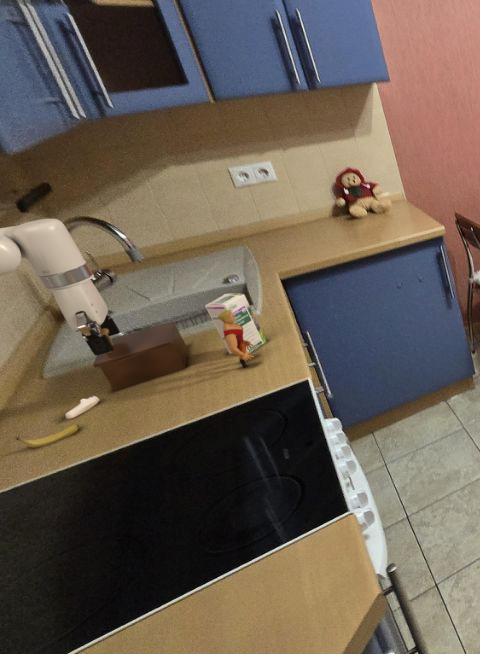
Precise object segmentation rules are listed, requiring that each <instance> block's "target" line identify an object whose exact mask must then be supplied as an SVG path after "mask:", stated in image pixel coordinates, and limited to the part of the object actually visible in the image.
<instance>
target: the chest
mask: <svg viewBox="0 0 480 654" xmlns="http://www.w3.org/2000/svg"><path fill="white" fill-rule="evenodd" d="M188 350H189V348H188V346H187V344H186V343H185V341H184V338H183V337H182V335H181V333H180V331H179V329H178V327H177V325H176V324H175V326H174V332H173V338H172V344H171V345H168V346H165V347H162V348H158V349H155V350H152V351H148V352H145V353H142V354H139V355H135V356H132V357H129V358H125V359H122V360H119V361H115V362H112V363H109V364H106V365H102V366H99V367H100V369H101V371H102V372H103V374H104V375H105V377H106V379H107V381H108V382H109V384H110V386H111V387H112V389H113V390H114V392H118V391H121V390H124V389H126V388H130V387H133V386H136V385H140V384H142V383H145V382H148V381H151V380H154V379H158V378H161V377H164V376H167V375H170V374H173V373H176V372H180V371H183V370H186V368H187V362H188V352H189V351H188Z"/></svg>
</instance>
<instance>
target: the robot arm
mask: <svg viewBox="0 0 480 654" xmlns="http://www.w3.org/2000/svg"><path fill="white" fill-rule="evenodd" d="M22 259H27V261H28V263H29V264H30V266H31V268H32V269H33V270H34V272H35V273H36V275H37V277H38V278H39V280H40V282H41V283H42V285H43V286H44V288H45V289H46V290H47V291H51V292H52V295H53V298H54V300H55V301H56V304H57V306H58V308H59V309H60V311H61V314H62V315H63V317H64V319H65V320H66V322H67V324H68V325H69V328H70V329H71V331H72V332H74V333H78V332H80V333H81V336H82V337H83V340H84V342H86V344H87V346H88V347H89V349H90V351H91V352H92V354H93V356H96V357H97V355H100V354H104V353H107V352H110V351H113V349H114V348H113V346H112V345H111V343H110V341H109V340H108V338H107V336H106V335H105V334H104V335H103V333H102V330H101V329H103V328H106V329H108V330H109V334H108V335H109V337H112V336H115V335H118V334H120V332H121V331H120V329H119V327H118V325H117V324H116V322H115V320H114V319H113V317H112V315H111V314H110V312H109V309H108V306H107V304H106V301H105V299H104V298H103V297H102V295H101V293H100V291H99V290H98V289H97V287H96V285H95V284H94V282H93V281H92V279H93V278H94V277H95V275H94V273H93V271H92V270H91V268H90V267H89V264H88V263H87V261H86V260H85V258H84V256H83V254H82V252H81V251H80V249H79V247H78V246H77V245H76V242H75V241H74V239H73V237H72V235H71V234H70V232H69V230H68V229H67V227H66V226H65V224H64V222H62V221H61V220H60V219H57V218H41V219H36V220H31V221H27V222H24V223H21V224H19V225H14V226H13V225H12V226H6V227H1V228H0V277H1V276H5V275H8V274H10V273H12V272H13V271H15V270H17V268H18V267H19V266H20V264H21V262H22Z"/></svg>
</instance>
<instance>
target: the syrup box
mask: <svg viewBox="0 0 480 654" xmlns="http://www.w3.org/2000/svg"><path fill="white" fill-rule="evenodd" d="M204 306H205V309H206V311H207V313H208V315H209V316H210V319H211V320H212V322H213V325H214V326H215V328H216V330H217V332H218V334H219V336H220V339H221V340H222V342H223V344H224V346H225V348H226V350H227V352H228V354H229V355H234V354H233V353H232V352H231V351H230V350H229V349H228V344H227V343H226V339H225V338H224V332H223V324H224V322H222V320H221V319H219V317H218V316H219V315H220V314H221V313H223V312H225V311H226V310H230V311H231V312H232V314H233V315H234V316H235V317H236V318H235V319H236V322H234V323H235V324H238V325H240V326H241V327H243V340H247V341H249V342H251V344H253V345H254V346H251V345H250V346H251V348H250V347H249V346H248V348H249V349H247V346H246V353H247V352H250V353H251V354H252V353H253V351H255V350H257V349H258V348H259V347H261V346H263V344H266V343H267V340H266V337H265V336H264V333H263V331H262V329H261V327H260V324H259V323H258V320H257V319H256V316H255V314H254V312H253V310H252V308H251V306H250V303H249V301H248V299H247V297H246V295H245V294H244V293H237V292H235V293H234V292H233V293H232V292H231V293H224V294H223V295H221V296H220V297H217V298H215V299H214V300H213V301H211V302H209V303H206V304H205V305H204ZM237 349H238V348H237ZM238 350H239V349H238Z"/></svg>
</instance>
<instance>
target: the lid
mask: <svg viewBox="0 0 480 654" xmlns="http://www.w3.org/2000/svg"><path fill="white" fill-rule="evenodd" d="M175 325H176V323H175V322H174V321H170V322H166V323H163V324H160V325H155V326H152V327H149V328H145V329H142V330H139V331H135V332H132V333H128V334H125V335H121V336H117V337H114V338H111V336H109V335H108V334H109V330H108V329H106V328H103V329H101V330H102V333H103V335H104V334H105V335H106V336H107V338H108V340H109V341H110V343H111V345H112V346H113V348H114V349H113V351H110V352H107V353H104V354H100V355H97V356H96V357H95V360H94V362H93V364H92V366H93V367H94V368H95V369H96V368H99V367H100V366H102V365H106V364H109V363H112V362H115V361H119V360H122V359H125V358H129V357H132V356H135V355H139V354H142V353H145V352H148V351H152V350H155V349H158V348H162V347H165V346H168V345H171V344H172V338H173V332H174V326H175Z"/></svg>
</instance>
